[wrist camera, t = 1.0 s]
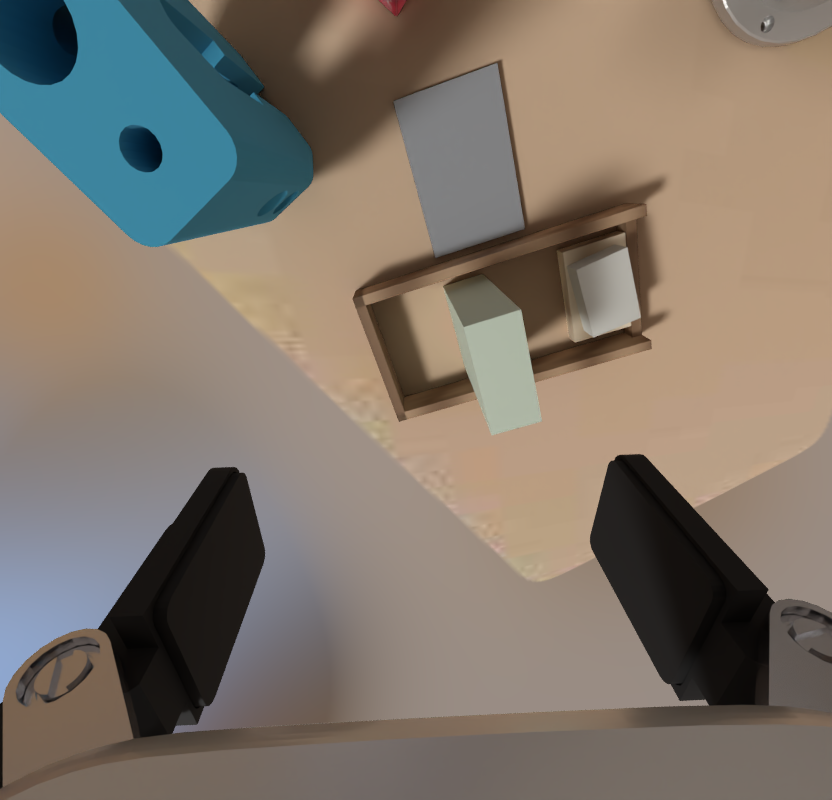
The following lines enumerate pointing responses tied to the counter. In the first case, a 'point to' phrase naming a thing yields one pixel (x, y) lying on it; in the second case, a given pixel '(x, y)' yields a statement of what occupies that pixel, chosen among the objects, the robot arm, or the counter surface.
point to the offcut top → (604, 290)
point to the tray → (558, 234)
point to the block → (149, 115)
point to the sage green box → (494, 353)
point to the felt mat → (462, 160)
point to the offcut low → (565, 259)
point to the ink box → (393, 5)
